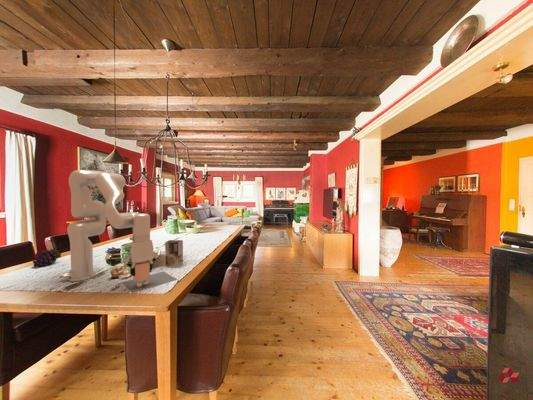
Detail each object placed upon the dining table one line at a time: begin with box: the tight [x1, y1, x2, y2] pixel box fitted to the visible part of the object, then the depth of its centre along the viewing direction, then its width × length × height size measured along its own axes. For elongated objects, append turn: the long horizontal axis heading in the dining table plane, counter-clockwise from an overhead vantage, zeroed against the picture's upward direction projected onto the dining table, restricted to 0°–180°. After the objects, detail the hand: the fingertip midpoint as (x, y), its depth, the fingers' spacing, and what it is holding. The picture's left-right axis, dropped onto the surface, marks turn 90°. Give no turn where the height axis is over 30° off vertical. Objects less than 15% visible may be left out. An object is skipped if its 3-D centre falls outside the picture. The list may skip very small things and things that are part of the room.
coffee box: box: [164, 239, 184, 268], centre depth 146 cm, size 9×6×16 cm
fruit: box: [32, 249, 62, 268], centre depth 146 cm, size 10×11×15 cm
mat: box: [120, 271, 178, 294], centre depth 120 cm, size 22×18×1 cm
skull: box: [107, 263, 133, 282], centre depth 126 cm, size 12×10×10 cm
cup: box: [132, 261, 151, 281], centre depth 113 cm, size 7×7×8 cm
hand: (141, 273), depth 113 cm, fingers closed on cup, 7 cm apart
